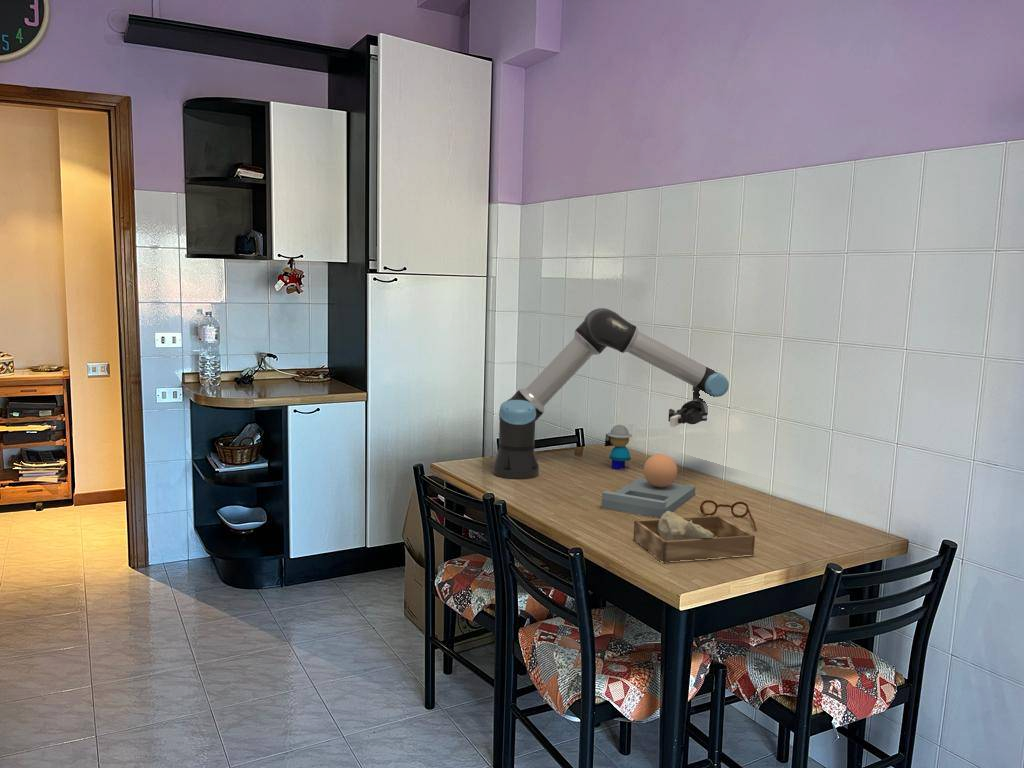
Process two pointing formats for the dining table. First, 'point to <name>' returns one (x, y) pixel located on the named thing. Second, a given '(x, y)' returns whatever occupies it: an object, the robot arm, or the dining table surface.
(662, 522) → the beige irregular lump
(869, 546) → the dining table surface
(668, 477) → the ball
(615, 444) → the toy
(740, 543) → the wooden tray
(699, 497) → the dining table surface
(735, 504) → the glasses
